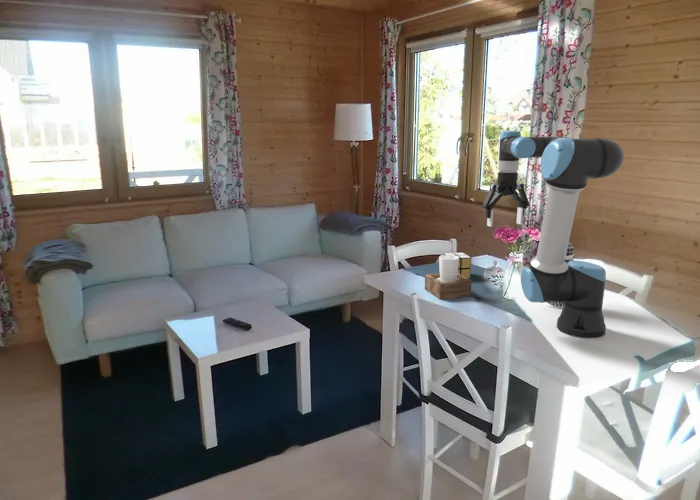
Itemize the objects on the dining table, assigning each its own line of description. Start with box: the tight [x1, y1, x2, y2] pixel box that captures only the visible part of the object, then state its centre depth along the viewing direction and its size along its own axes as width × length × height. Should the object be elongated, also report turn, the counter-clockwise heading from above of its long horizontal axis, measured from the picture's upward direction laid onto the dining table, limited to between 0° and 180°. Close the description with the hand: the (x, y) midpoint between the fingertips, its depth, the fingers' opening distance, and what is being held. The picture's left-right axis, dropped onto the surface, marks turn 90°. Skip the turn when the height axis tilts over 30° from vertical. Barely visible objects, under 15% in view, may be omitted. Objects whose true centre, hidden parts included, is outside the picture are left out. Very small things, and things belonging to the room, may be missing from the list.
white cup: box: [438, 254, 459, 282], centre depth 213 cm, size 8×8×10 cm
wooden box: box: [424, 272, 473, 300], centre depth 214 cm, size 14×14×6 cm
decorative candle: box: [545, 241, 575, 310], centre depth 197 cm, size 9×9×25 cm
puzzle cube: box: [442, 252, 472, 279], centre depth 237 cm, size 10×10×10 cm
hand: (504, 225), depth 207 cm, fingers open, 13 cm apart
